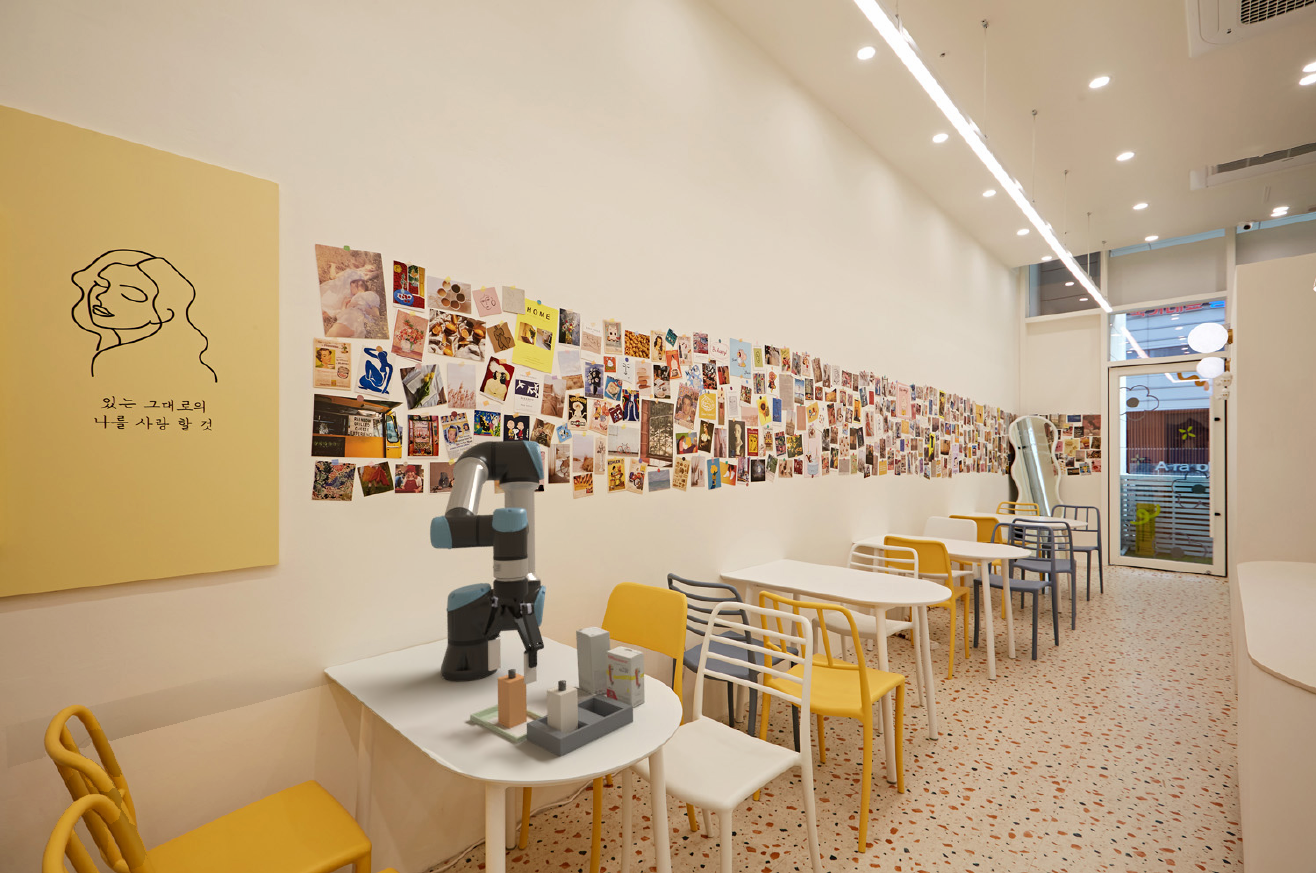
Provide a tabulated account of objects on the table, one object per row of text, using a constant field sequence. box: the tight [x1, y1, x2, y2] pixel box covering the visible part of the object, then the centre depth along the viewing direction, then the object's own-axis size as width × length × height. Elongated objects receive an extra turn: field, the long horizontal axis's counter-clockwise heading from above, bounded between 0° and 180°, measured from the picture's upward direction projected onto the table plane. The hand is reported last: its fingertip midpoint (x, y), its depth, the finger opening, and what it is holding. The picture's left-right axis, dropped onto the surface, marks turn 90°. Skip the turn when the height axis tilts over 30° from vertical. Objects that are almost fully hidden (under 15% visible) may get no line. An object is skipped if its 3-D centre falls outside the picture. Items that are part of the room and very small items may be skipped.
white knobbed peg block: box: [546, 679, 579, 734], centre depth 124 cm, size 4×4×12 cm
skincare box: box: [575, 626, 611, 696], centre depth 152 cm, size 8×6×15 cm
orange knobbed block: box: [497, 668, 528, 729], centre depth 133 cm, size 4×4×12 cm
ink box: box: [606, 645, 646, 708], centre depth 144 cm, size 9×5×12 cm, turn 49°
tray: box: [469, 704, 544, 743], centre depth 132 cm, size 18×10×2 cm, turn 48°
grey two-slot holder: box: [526, 694, 634, 758], centre depth 128 cm, size 11×20×4 cm, turn 138°
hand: (511, 675), depth 132 cm, fingers open, 13 cm apart
